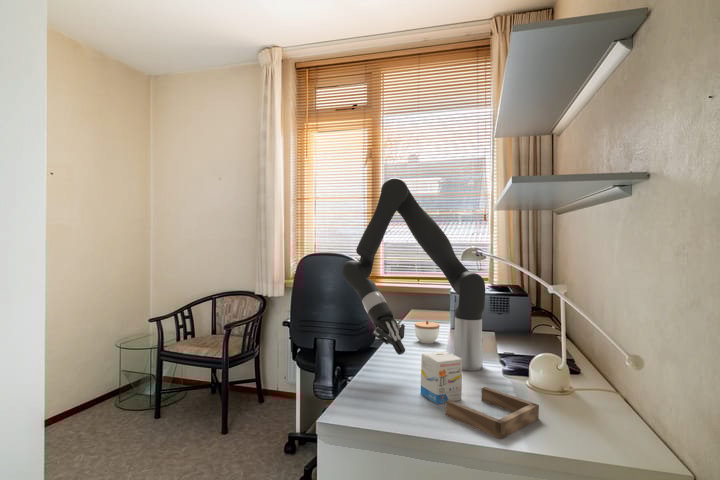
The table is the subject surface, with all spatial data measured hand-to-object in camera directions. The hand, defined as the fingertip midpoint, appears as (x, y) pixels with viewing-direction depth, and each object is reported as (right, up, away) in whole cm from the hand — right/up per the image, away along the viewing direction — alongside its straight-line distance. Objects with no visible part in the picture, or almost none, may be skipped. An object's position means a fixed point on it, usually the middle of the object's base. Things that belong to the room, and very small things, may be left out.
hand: (402, 353), depth 126 cm
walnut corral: (+19, -9, -24) cm, 32 cm away
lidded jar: (+16, -9, +50) cm, 53 cm away
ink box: (+10, -9, -12) cm, 18 cm away
